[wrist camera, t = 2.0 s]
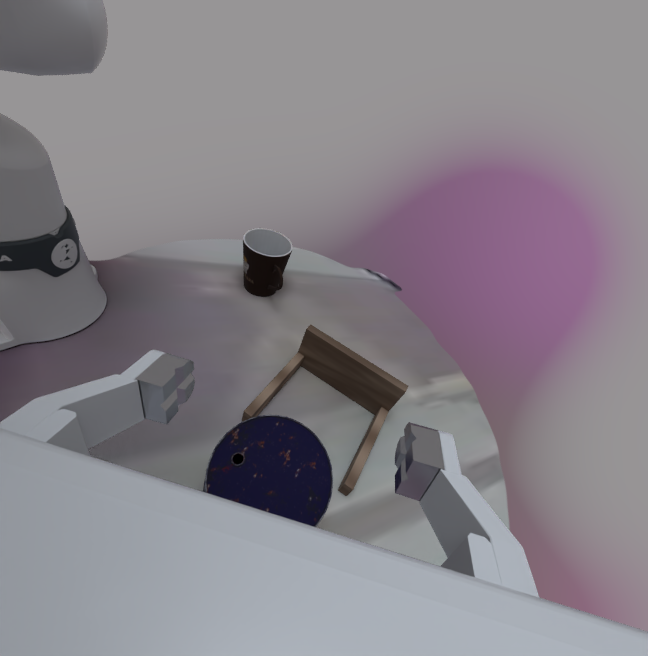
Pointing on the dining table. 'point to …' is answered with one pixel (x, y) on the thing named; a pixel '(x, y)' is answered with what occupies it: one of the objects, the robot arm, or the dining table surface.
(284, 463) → the dark blue cylinder
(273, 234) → the coffee mug
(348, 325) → the dining table surface
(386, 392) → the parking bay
